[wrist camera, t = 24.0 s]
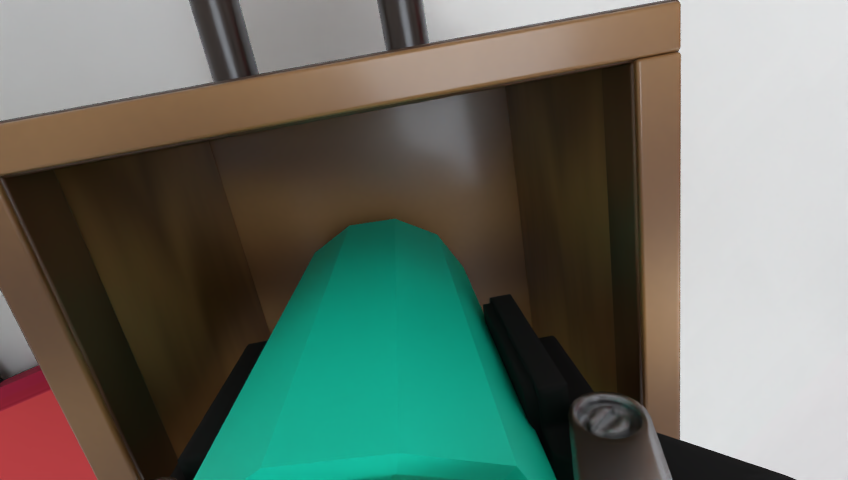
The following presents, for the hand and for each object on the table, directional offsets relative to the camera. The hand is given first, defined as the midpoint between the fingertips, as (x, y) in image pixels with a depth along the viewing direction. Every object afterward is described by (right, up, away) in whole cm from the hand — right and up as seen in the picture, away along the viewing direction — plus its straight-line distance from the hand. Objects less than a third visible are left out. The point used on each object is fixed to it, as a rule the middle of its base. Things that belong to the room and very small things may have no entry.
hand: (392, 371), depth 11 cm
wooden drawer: (-1, +5, +7) cm, 8 cm away
